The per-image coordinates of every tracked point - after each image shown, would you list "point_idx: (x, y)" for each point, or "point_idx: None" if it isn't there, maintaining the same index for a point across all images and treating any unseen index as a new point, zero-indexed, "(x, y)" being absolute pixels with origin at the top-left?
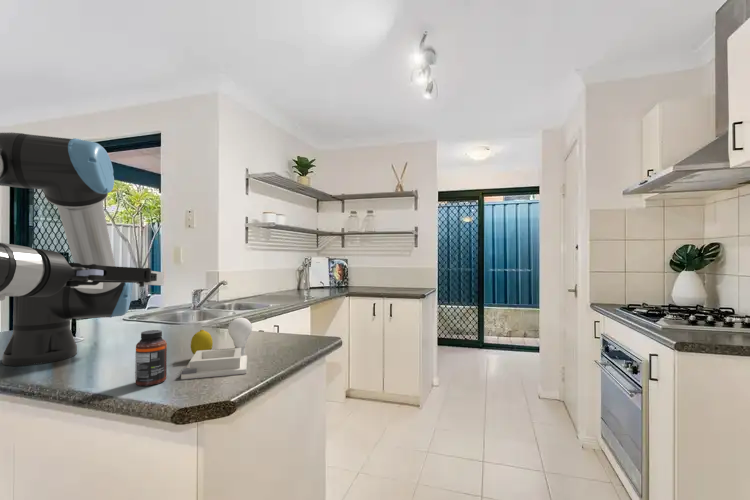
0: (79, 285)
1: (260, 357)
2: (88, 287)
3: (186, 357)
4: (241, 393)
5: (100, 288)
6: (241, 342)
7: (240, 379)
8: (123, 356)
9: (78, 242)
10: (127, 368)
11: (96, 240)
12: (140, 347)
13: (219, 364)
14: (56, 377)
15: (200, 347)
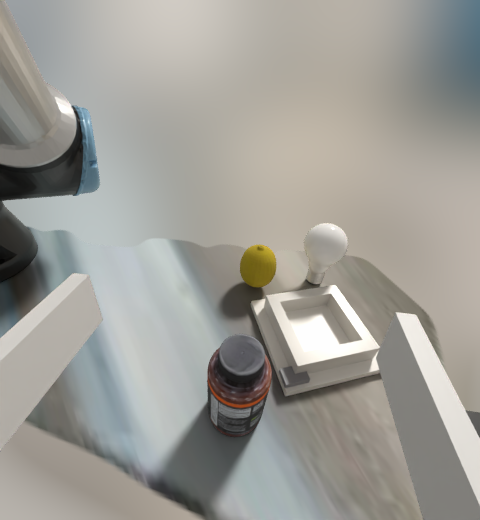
0: (7, 425)
1: (350, 287)
2: (54, 378)
3: (226, 276)
4: None
5: (96, 326)
6: (327, 268)
7: None
8: (118, 262)
9: None
10: (151, 322)
11: None
12: (230, 400)
13: (344, 360)
14: None
15: (263, 280)
